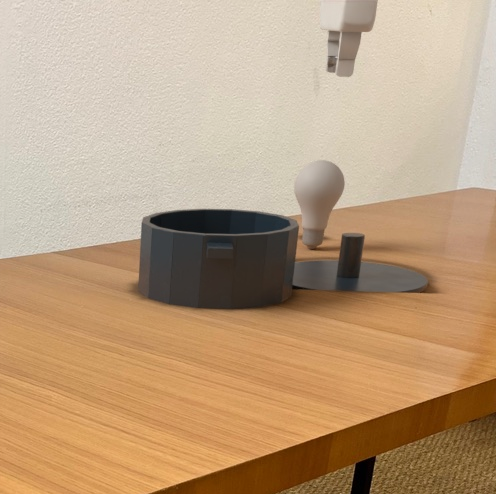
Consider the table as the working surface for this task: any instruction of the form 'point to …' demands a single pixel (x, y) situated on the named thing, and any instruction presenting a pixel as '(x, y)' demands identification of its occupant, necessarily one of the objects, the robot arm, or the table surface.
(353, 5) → the robot arm
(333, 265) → the pot lid
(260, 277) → the pot
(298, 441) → the table surface
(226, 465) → the table surface
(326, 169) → the lightbulb
